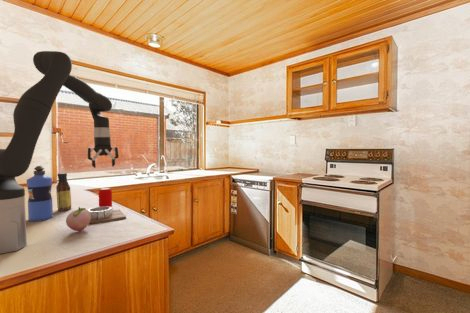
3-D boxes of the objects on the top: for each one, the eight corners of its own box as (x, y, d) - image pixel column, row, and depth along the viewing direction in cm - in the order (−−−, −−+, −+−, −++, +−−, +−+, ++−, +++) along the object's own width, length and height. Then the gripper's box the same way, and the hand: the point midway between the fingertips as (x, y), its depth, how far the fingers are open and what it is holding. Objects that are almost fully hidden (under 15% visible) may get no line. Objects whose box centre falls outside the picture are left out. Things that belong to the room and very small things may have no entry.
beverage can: (97, 213, 123) (97, 189, 123) (100, 209, 129) (100, 187, 129) (110, 212, 125) (110, 189, 124) (113, 209, 131) (112, 187, 130)
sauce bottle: (74, 208, 132) (73, 172, 132) (65, 211, 126) (64, 174, 125) (63, 208, 133) (62, 172, 132) (53, 211, 127) (52, 173, 126)
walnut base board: (126, 218, 113) (125, 216, 113) (75, 226, 102) (75, 224, 102) (119, 211, 126) (119, 209, 126) (74, 217, 115) (74, 215, 115)
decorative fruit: (70, 229, 99) (69, 205, 98) (93, 227, 102) (92, 203, 101) (63, 237, 90) (62, 211, 90) (88, 234, 93) (87, 209, 93)
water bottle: (31, 222, 107) (29, 167, 106) (25, 219, 113) (23, 166, 112) (56, 217, 115) (54, 165, 114) (49, 214, 120) (48, 165, 119)
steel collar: (113, 216, 113) (113, 209, 113) (87, 220, 107) (87, 213, 107) (110, 212, 121) (110, 205, 121) (86, 215, 115) (86, 208, 115)
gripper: (86, 136, 119) (88, 168, 120) (118, 136, 127) (119, 166, 128) (86, 136, 125) (88, 167, 127) (116, 136, 133) (117, 165, 134)
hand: (104, 166), depth 127 cm, fingers open, 8 cm apart
